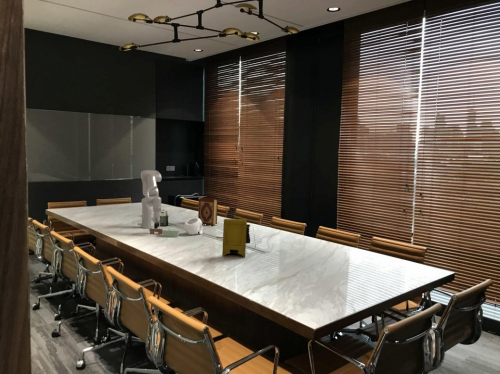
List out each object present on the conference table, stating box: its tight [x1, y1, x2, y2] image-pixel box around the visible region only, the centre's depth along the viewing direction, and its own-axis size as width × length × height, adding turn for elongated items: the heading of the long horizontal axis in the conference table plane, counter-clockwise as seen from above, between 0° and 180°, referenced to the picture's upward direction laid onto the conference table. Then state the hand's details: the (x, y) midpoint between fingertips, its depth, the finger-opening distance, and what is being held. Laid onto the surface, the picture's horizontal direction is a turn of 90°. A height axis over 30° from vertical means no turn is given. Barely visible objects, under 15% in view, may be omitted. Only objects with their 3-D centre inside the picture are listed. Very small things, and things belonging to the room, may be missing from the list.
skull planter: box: [183, 216, 204, 236], centre depth 382 cm, size 14×20×19 cm
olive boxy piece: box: [216, 218, 256, 258], centre depth 307 cm, size 31×14×30 cm, turn 92°
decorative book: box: [197, 197, 219, 226], centre depth 437 cm, size 22×8×30 cm, turn 62°
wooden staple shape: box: [148, 227, 164, 235], centre depth 374 cm, size 12×5×5 cm, turn 95°
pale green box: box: [162, 227, 180, 238], centre depth 369 cm, size 14×10×7 cm
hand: (156, 227), depth 375 cm, fingers open, 9 cm apart
